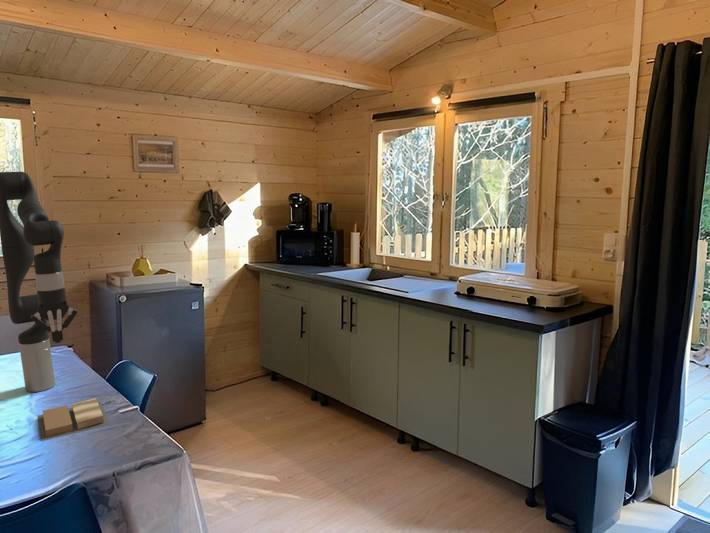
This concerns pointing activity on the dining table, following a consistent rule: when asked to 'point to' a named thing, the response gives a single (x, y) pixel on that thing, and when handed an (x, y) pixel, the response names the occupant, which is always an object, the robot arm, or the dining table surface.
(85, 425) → the oak plank
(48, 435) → the floor section
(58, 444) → the dining table surface
